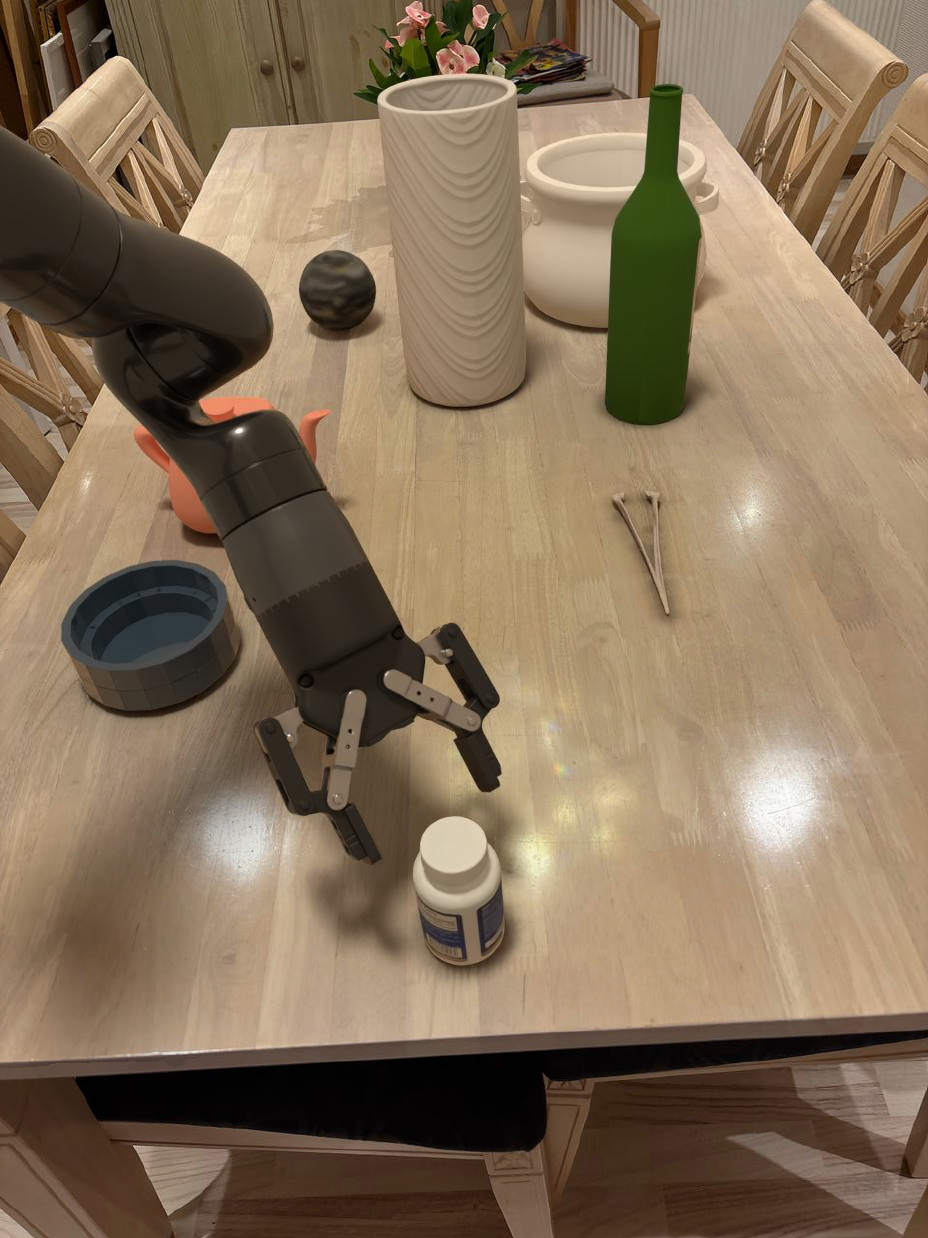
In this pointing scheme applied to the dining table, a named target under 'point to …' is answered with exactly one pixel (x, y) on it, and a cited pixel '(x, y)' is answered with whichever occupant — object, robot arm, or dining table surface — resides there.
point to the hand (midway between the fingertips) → (434, 824)
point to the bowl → (151, 634)
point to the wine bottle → (653, 279)
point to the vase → (456, 234)
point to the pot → (589, 218)
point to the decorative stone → (337, 290)
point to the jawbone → (659, 578)
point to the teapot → (218, 410)
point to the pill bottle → (459, 891)
